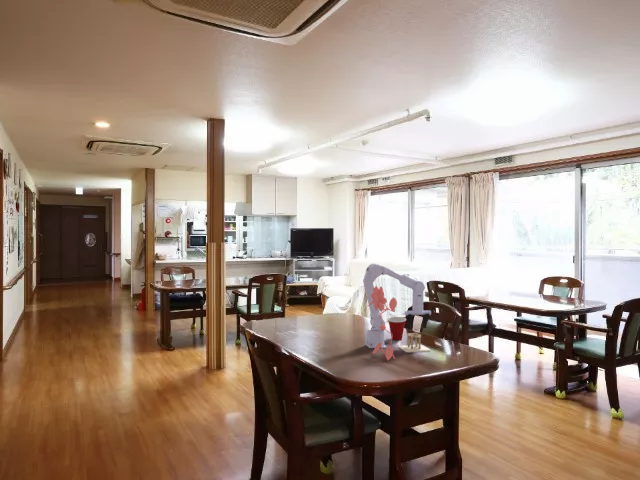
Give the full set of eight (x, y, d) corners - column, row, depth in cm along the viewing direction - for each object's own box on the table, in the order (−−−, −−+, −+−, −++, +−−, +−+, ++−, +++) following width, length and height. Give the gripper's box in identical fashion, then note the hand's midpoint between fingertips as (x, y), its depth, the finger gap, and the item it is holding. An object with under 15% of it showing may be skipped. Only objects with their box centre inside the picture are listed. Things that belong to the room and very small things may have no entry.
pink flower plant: (377, 350, 226) (376, 282, 226) (406, 363, 203) (405, 287, 202) (351, 353, 220) (349, 284, 220) (378, 367, 197) (376, 290, 196)
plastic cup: (384, 340, 249) (384, 319, 249) (390, 336, 258) (390, 316, 258) (403, 342, 244) (403, 320, 244) (408, 338, 253) (408, 317, 253)
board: (406, 352, 222) (406, 350, 222) (398, 347, 233) (398, 345, 233) (430, 351, 224) (430, 349, 224) (421, 346, 235) (421, 344, 235)
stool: (411, 349, 226) (411, 335, 225) (407, 346, 231) (407, 333, 231) (420, 348, 226) (420, 335, 226) (416, 346, 232) (416, 333, 232)
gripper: (407, 304, 231) (407, 330, 231) (433, 303, 234) (433, 329, 234) (403, 302, 238) (402, 327, 238) (428, 301, 241) (427, 326, 241)
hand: (417, 328), depth 236 cm, fingers open, 7 cm apart
